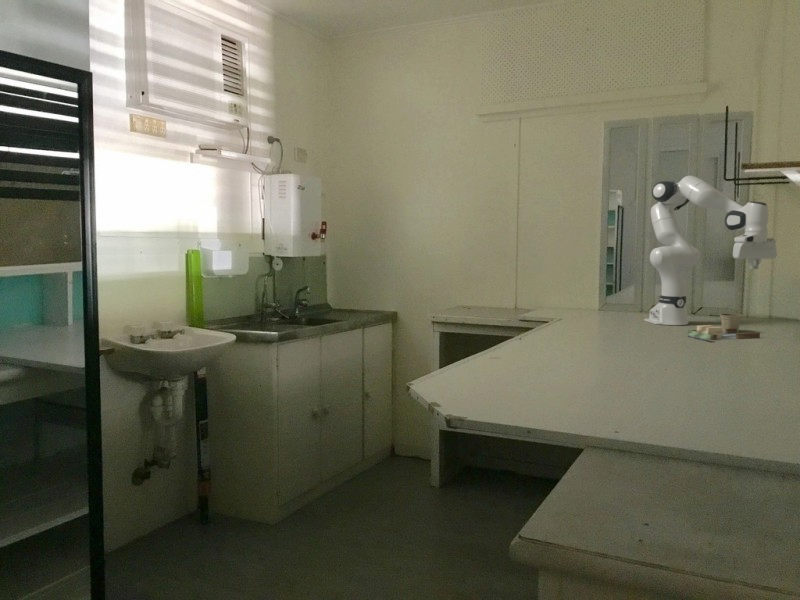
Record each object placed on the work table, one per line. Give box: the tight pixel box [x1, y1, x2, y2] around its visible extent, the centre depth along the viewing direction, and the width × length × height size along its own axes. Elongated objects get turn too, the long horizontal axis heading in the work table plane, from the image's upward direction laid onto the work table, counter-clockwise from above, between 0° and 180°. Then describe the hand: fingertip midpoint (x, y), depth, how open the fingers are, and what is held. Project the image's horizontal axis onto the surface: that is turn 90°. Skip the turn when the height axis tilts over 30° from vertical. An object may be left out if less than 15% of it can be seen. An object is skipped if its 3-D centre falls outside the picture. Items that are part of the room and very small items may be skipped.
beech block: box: [696, 324, 724, 338], centre depth 265 cm, size 7×7×4 cm
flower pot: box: [719, 312, 744, 333], centre depth 280 cm, size 9×9×9 cm
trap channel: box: [687, 328, 761, 343], centre depth 267 cm, size 14×24×3 cm, turn 103°
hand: (754, 269), depth 277 cm, fingers closed
